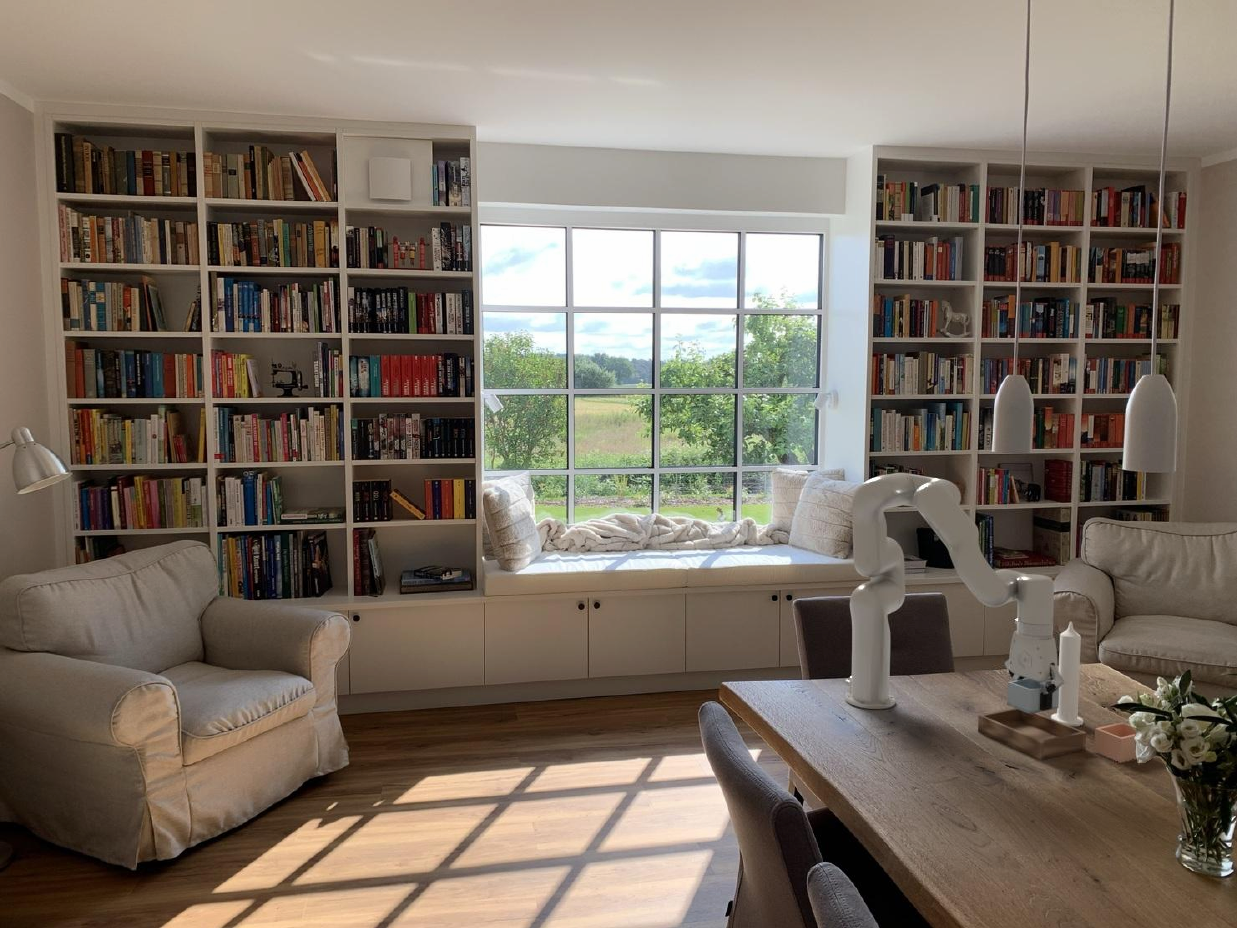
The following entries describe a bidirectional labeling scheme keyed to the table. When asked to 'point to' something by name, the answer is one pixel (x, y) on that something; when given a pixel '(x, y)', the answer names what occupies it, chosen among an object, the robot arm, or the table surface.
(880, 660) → the robot arm
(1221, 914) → the table surface
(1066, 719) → the candle
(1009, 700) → the bluegrey crate
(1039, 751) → the walnut crate
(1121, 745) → the terracotta crate
